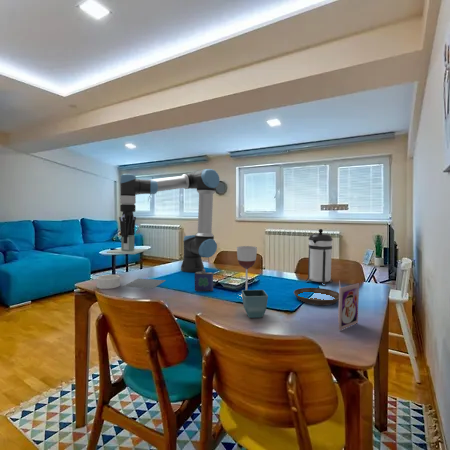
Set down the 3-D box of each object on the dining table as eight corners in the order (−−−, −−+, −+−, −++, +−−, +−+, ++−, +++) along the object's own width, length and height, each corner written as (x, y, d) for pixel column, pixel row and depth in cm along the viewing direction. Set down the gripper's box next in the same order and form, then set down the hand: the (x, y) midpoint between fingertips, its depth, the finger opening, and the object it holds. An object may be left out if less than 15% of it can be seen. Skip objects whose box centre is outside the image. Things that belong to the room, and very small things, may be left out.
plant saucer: (285, 295, 141) (285, 289, 141) (320, 292, 148) (321, 285, 148) (311, 310, 122) (312, 302, 122) (351, 304, 129) (352, 297, 129)
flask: (213, 289, 150) (213, 268, 149) (212, 291, 147) (212, 270, 146) (195, 289, 150) (194, 268, 149) (194, 291, 147) (194, 269, 147)
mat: (166, 281, 167) (166, 280, 167) (153, 289, 150) (153, 288, 150) (138, 279, 170) (138, 278, 170) (122, 287, 153) (122, 286, 153)
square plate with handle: (147, 250, 162) (147, 234, 162) (134, 254, 147) (134, 236, 147) (122, 249, 165) (122, 233, 164) (106, 252, 150) (106, 235, 150)
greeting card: (341, 332, 100) (342, 288, 99) (322, 325, 106) (323, 283, 105) (359, 324, 107) (361, 283, 106) (341, 318, 113) (342, 279, 112)
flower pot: (241, 311, 119) (241, 289, 118) (262, 311, 119) (263, 289, 119) (244, 320, 110) (244, 296, 109) (267, 319, 111) (268, 296, 110)
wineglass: (258, 294, 143) (258, 246, 141) (253, 300, 133) (254, 249, 132) (239, 292, 146) (240, 245, 144) (233, 298, 136) (234, 248, 135)
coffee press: (339, 286, 159) (341, 230, 157) (309, 285, 159) (310, 229, 157) (328, 278, 176) (330, 227, 174) (301, 278, 176) (302, 227, 174)
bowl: (123, 284, 159) (123, 275, 158) (112, 290, 148) (112, 280, 148) (105, 283, 161) (105, 274, 160) (92, 288, 150) (92, 278, 150)
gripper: (128, 204, 163) (128, 247, 164) (113, 203, 148) (113, 250, 149) (141, 204, 162) (141, 247, 163) (127, 204, 146) (126, 251, 148)
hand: (127, 249), depth 156 cm, fingers closed on square plate with handle, 2 cm apart
